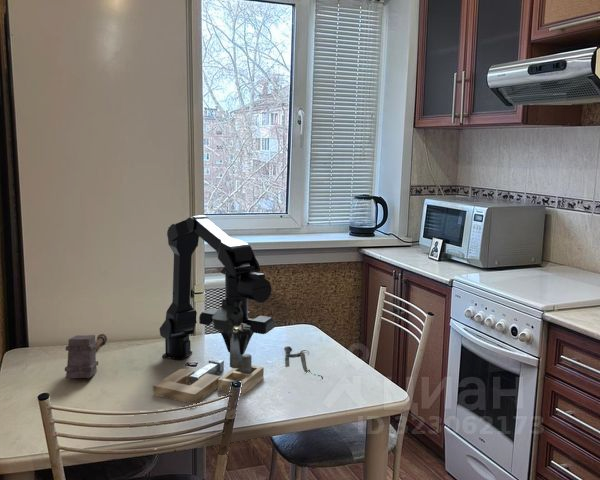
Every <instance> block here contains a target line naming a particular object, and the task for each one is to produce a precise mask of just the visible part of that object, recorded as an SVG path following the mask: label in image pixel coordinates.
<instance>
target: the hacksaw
mask: <svg viewBox="0 0 600 480" xmlns="http://www.w3.org/2000/svg"><path fill="white" fill-rule="evenodd" d="M292 350H293V348H292V346H284V351H285V358H284V361H285V362H284V363H285V365H284V366H285V368H289V367H290V357H293V358H294V357H299V356H300V360H301V366H302V369H303V370H304V373H305V372H306V373H307V372H308V373H309V372H310V373H311V369H308V367H307V362H306V355H305V353H304V352H308V353H307V355H308V354H309V353H310V352H309V350H306V349H303V350H301V351H300V352H298V353H291V351H292ZM306 373H305V374H306ZM313 374H314V375H313V376H316V374H315V373H313ZM317 375H318V376H317V377H320V376H321V377H320V378H321V379H322V380H323V379H324V376H323V375H320V374H317Z"/></svg>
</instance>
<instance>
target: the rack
mask: <svg viewBox="0 0 600 480" xmlns="http://www.w3.org/2000/svg"><path fill="white" fill-rule="evenodd" d="M252 360H253V359H252V355H251V354H250V353H249V354H248V353H244V354H243V355H242V367H241V368H231V369H230V370H229V371H228V372H226V373H225V374H223V375H222V376H220V378H219V379H218V388H217V391H218V392H224V393H228V394H230V393H229V391H230V387H231V383H232V382H233V381H241V383H242V387H241V393H240V395H239V396H241V397H242V396H244V395H245V394H247V392H249V391H250V390H251V389H253V387H255V386H256V385H257V384H258V383H259V382H260V381H262V380H263V379H264V375H265V373H264V366H263V367H262V366H260V365H259V366H257V365H253V364H252Z"/></svg>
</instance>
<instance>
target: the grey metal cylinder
mask: <svg viewBox="0 0 600 480" xmlns="http://www.w3.org/2000/svg"><path fill="white" fill-rule="evenodd" d="M241 330H242V327H241V326H234V327H233V329H232V331H230V352H229V367H230V368H231V369H233V368H241V367H242V355H241V350H240V349H241V335H240V333H239V331H241Z"/></svg>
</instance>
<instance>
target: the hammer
mask: <svg viewBox="0 0 600 480" xmlns="http://www.w3.org/2000/svg"><path fill="white" fill-rule="evenodd" d="M107 341H108V337H107V335H106V334H104V333H100V334H98V335H97V337H96V335H95V334H88V335H80V334H79V335H74V336H72V337H71V338H69V339H68V345H67V346H65V351H68V352H67V361H66V362H67V363H66V366H65V367H64V371H65V372H66V374H65V375H66V376H65V379H80V378H82V379H86V378H89V379H90V378H92V377H93V376H94V375H95V374H96V373H97V372H98V369H97V366H99V361H98V360H96V350H97V349H98V348H99V347H100V346H101V345H102V344H105V343H107Z"/></svg>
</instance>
